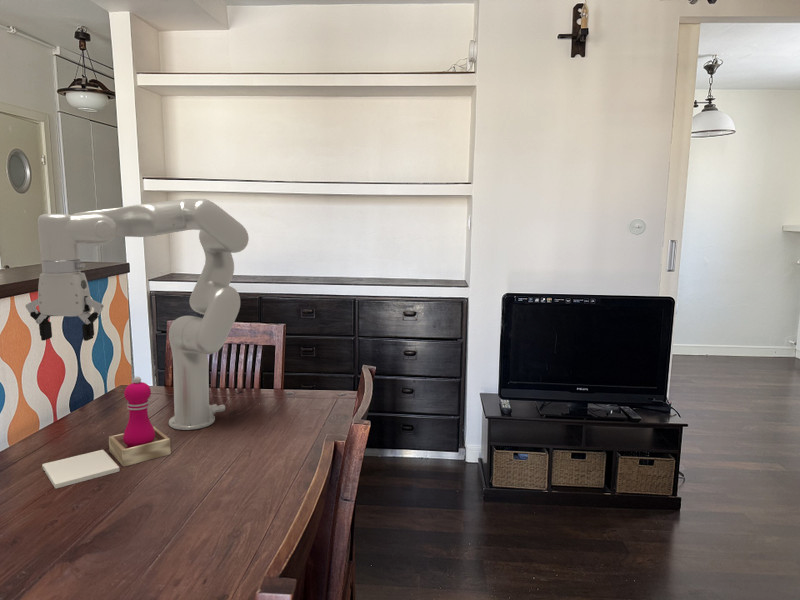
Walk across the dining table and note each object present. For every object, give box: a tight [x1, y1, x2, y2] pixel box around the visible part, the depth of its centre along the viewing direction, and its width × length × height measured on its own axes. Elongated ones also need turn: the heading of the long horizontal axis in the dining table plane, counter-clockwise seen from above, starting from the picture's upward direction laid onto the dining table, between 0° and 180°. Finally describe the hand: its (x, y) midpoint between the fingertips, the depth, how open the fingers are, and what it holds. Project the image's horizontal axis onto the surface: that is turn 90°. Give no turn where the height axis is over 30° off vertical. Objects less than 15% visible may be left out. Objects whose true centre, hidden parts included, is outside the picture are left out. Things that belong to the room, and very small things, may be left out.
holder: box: [108, 425, 171, 467], centre depth 136 cm, size 11×11×4 cm
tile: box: [41, 449, 120, 490], centre depth 126 cm, size 13×13×1 cm
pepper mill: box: [123, 376, 155, 449], centre depth 135 cm, size 7×7×20 cm
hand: (67, 339), depth 128 cm, fingers open, 9 cm apart
